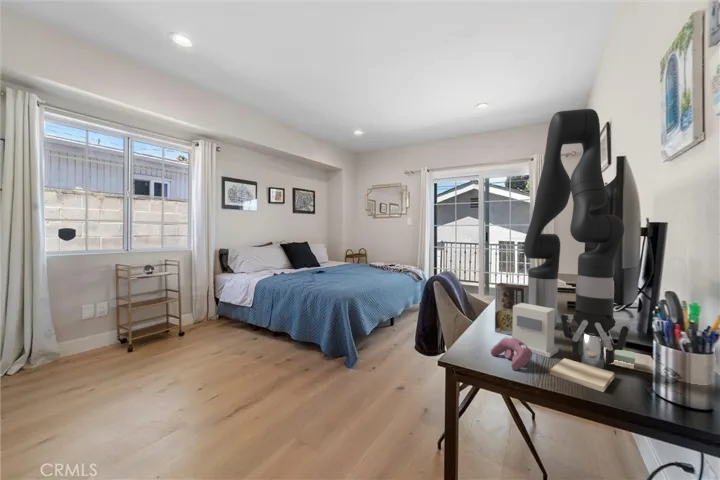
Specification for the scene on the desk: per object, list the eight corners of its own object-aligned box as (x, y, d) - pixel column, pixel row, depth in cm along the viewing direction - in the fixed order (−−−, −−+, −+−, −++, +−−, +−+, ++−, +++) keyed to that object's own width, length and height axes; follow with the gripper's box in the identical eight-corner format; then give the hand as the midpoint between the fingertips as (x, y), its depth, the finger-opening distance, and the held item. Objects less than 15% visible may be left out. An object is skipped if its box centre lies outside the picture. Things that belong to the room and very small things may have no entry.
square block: (608, 358, 80) (609, 347, 80) (633, 363, 77) (634, 352, 77) (608, 364, 76) (608, 352, 76) (634, 370, 73) (634, 358, 73)
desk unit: (518, 339, 92) (519, 301, 92) (558, 351, 84) (559, 309, 84) (507, 345, 88) (508, 305, 88) (549, 357, 79) (550, 313, 79)
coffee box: (528, 333, 99) (529, 285, 98) (523, 338, 94) (524, 288, 93) (499, 327, 105) (500, 282, 104) (493, 331, 100) (494, 284, 100)
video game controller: (527, 376, 72) (538, 350, 73) (512, 369, 72) (524, 343, 72) (501, 359, 82) (511, 336, 82) (488, 352, 81) (498, 329, 82)
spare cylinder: (584, 360, 78) (585, 330, 78) (605, 365, 75) (606, 334, 75) (579, 364, 75) (580, 333, 75) (601, 371, 72) (601, 338, 72)
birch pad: (564, 362, 76) (564, 358, 76) (614, 377, 69) (614, 372, 69) (550, 374, 70) (550, 369, 70) (603, 392, 62) (603, 386, 62)
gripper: (635, 296, 71) (633, 365, 72) (565, 287, 82) (564, 347, 83) (629, 301, 67) (627, 374, 67) (556, 291, 78) (554, 354, 78)
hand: (592, 359), depth 75 cm, fingers open, 5 cm apart
